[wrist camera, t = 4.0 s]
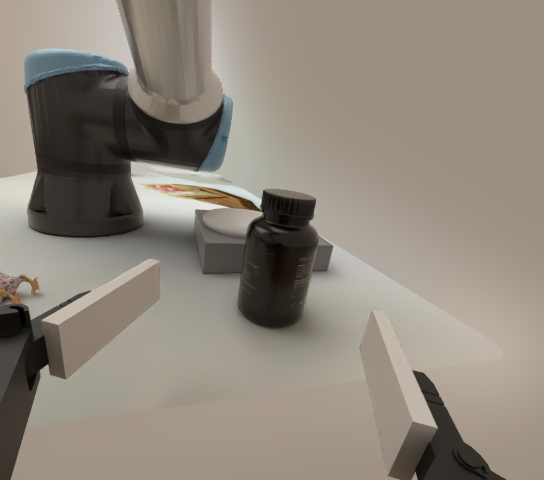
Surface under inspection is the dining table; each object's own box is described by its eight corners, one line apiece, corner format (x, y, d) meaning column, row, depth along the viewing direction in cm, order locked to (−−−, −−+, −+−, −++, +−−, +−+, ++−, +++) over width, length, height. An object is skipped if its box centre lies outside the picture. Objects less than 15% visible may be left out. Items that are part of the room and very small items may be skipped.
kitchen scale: (203, 273, 31) (205, 235, 30) (194, 231, 45) (195, 203, 44) (327, 270, 38) (334, 239, 36) (285, 234, 52) (290, 210, 50)
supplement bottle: (291, 291, 30) (311, 191, 27) (311, 329, 24) (341, 206, 20) (234, 289, 29) (247, 183, 25) (240, 330, 23) (258, 196, 19)
